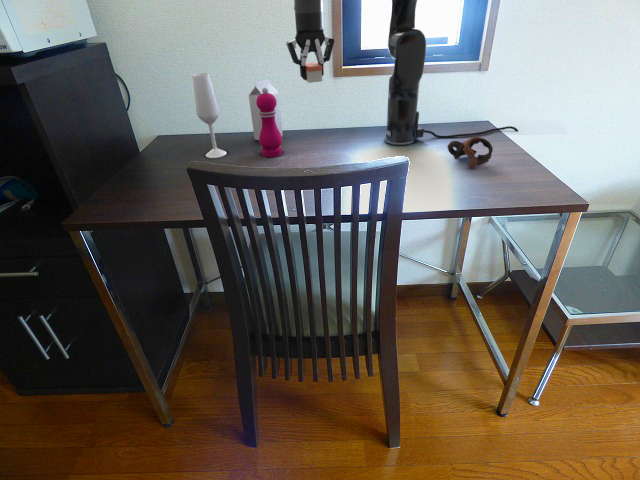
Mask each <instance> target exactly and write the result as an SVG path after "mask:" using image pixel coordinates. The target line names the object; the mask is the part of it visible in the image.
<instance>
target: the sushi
mask: <svg viewBox="0 0 640 480" xmlns="http://www.w3.org/2000/svg"><path fill="white" fill-rule="evenodd" d="M305 66H306V74H307V80H305V81H306V82H307V83H309V84H312V83H318V82H319V83H320V82H323V76H322V66H321V65H319V64H318V62H314V61H312V62H306V64H305Z"/></svg>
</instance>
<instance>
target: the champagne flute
mask: <svg viewBox="0 0 640 480" xmlns="http://www.w3.org/2000/svg"><path fill="white" fill-rule="evenodd" d="M191 76H192V85H193V92H194V93H193V94H194V101H195V110H196V111H195V112H196V116H197V118H198V119H199V120H201V122H203V123H205V124H207V125H208V129H209V134H210V139H211V144H212V149H210V151H208V152H207V153H206V154H205V157H206V158H208V159H217V158H218V159H219V158H222V157H224V156H226V155H227V154H228V153H227V151H225V150H223V149H221V148H218V147H217V141H216V135H215V132H214V127H213V126H214V123H216V121H217V119H218V118H219V115H220V109H219V106H218V105H219V104H218V101H217V98H216V94H215V90H214V87H213V83H212V79H211V76H210V73H208V72H199V73H193V74H192V75H191Z"/></svg>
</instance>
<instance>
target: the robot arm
mask: <svg viewBox="0 0 640 480" xmlns="http://www.w3.org/2000/svg"><path fill="white" fill-rule="evenodd" d="M293 3H294V4H293V5H294V7H293V9H294V17H295V18H294V19H295V31H296V33H295V36H294V39H292V40H290V41H289V40H288V41H286V43H285V45H286V47H287V50H288V52H289V55H290V57H291V61H292V62H293V64H295V65H297V66H299V75H300V77H301V78H302V80H304V81H306V80H307V74H306V66H305V64H306V63H307V58H308V55H309V54H310V53H314V55H315V57H316V61H317V64H319V65H321V66H322V77H324V74H325V71H324V69H325V68H324V65H325V63H327V62H329V61H330V60H331V56H332V53H333V48H334V45H335V39H334V38H333V37H328V36H326V35H325V32H324V7H323V5H324V4H323V0H293ZM417 4H418V0H391V7H390V8H391V9H390V19H389V20H390V21H389V22H390V23H389V28H388V35H387V36H388V37H387V50H388V53H389V55H390V57H391V58H392V59H394V65H393V72H392V74H391V75H390V76H389V78H388V89H387V91H388V93H387V107H386V108H387V109H386V125H385V127H386V128H384V134H385V137H384V140H385V142H386V143H387V144H389V145H393V146H408V145H411V144H413V143H416V142H417V140H418V139H419V138H424V133H426V134H430V135H432V136H434V137H435V138H439V139H449V138H450V139H451V138H457V137H458V138H459V137H470V136H471V137H472V136H480V135H485V134H487V133H488V134H489V133H491V132H496V131H497V132H498V131H503V130H509V129H511V130H514V131H515V132H519V130H518V128H517V127H516V126H512V125H511V126H509V125H508V126H502V127H497V128H491V129H488V130H487V129H486V130H483V131H478V132H471V133H470V132H469V133H458V134H457V133H456V134H450V135H439V134H436V133H435V132H434V131H432V130H428V129H425V128H423V127H421V126H420V125H419V120H420V112H419V111H418V102H419V93H420V92H419V91H420V82H421V79H422V77H423V75H424V69H425V62H426V54H427V39H426V35H425V34H424V31H422V30H420V29H418V28H416V12H417ZM323 44H324V45H325V48H324V53H323V51H322V48H321V47H322V46H323ZM297 45H298V47H299V48H300V51H299V57H298V55H297V52H296V48H297ZM417 138H418V139H417Z"/></svg>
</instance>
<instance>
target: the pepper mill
mask: <svg viewBox="0 0 640 480" xmlns="http://www.w3.org/2000/svg"><path fill="white" fill-rule="evenodd" d="M262 92H263V94H260V95H259V96H258V97H257V100H256V104H257V107H258V108H259V109H260V111H259V113H260V114H259V115H260V116H261V119H262V129H261V132H260V136H259V140H258V143H259V145H260V146H261V147H262V148H261V154H262V156H263V157H266V158H276V157H279V156H281V155H282V153H283V150H282V146H281V145H282V144H283V137H282V136H281V133H280V131H279V130H278V128H277V126H276V122H275V115H276V110H275V107H276V105H277V101H276V98H275V97H274V95H272V94H270V93H268V89H267V88H263V89H262Z"/></svg>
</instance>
